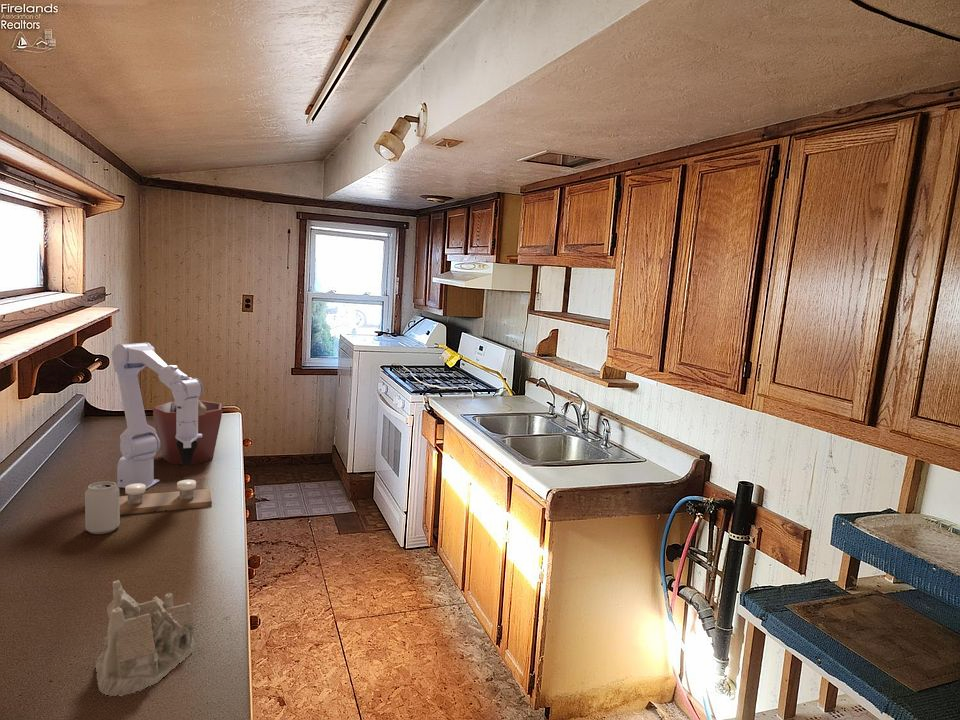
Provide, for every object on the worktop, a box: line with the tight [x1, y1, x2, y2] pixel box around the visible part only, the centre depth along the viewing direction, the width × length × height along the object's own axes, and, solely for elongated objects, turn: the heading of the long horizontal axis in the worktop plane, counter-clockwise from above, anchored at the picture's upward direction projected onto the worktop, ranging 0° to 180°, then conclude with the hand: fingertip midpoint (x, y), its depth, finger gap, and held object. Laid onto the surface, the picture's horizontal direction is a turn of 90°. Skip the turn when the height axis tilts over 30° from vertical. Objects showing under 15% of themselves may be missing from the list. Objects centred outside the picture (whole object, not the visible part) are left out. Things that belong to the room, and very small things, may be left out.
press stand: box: [119, 488, 213, 516], centre depth 176 cm, size 26×11×4 cm, turn 116°
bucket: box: [152, 398, 223, 465], centre depth 218 cm, size 24×22×25 cm
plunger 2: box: [176, 479, 197, 491], centre depth 179 cm, size 5×5×4 cm
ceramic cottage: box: [95, 579, 197, 696], centre depth 106 cm, size 16×16×15 cm
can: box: [84, 480, 121, 535], centre depth 157 cm, size 8×8×12 cm
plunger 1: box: [124, 483, 147, 496], centre depth 173 cm, size 5×5×4 cm
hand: (186, 465), depth 180 cm, fingers closed
